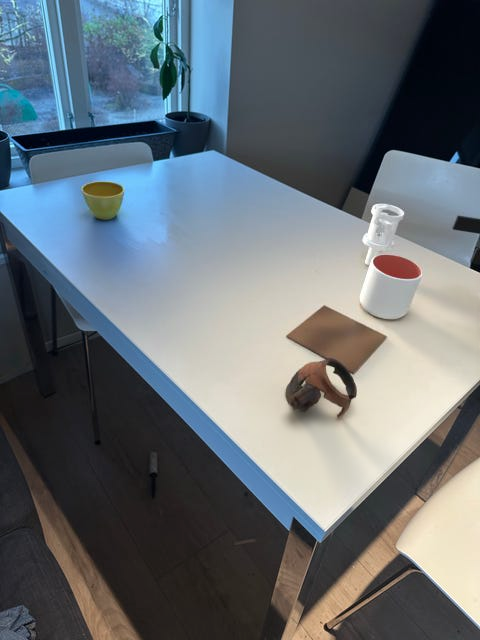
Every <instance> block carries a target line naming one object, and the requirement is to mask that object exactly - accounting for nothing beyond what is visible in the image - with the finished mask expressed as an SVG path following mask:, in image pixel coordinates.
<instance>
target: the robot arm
mask: <svg viewBox="0 0 480 640" xmlns="http://www.w3.org/2000/svg"><path fill="white" fill-rule="evenodd" d="M451 227H452V230H453V231H458V232H459V231H460V232H465V233H466V232H467V233H473V234H478V235H480V218H477V217H470V216H464V215H457V216H456V218H455V220H454V223H453V225H452V226H451ZM469 262H470V263H471V264H475V265H480V247H478V246H477V247H475V250H474V252H473V254H472V255H471V258H470V260H469Z"/></svg>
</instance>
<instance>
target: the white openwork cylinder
mask: <svg viewBox="0 0 480 640" xmlns="http://www.w3.org/2000/svg"><path fill="white" fill-rule="evenodd" d="M384 210H385V211H390V212H393V213H395V214H397V215H389V213H387V212H383V211H384ZM370 211H371V212H370V213H371V214H372V218H371V220H370V224H369V226H368V229H367V230H368V231H367V232H366V233H365V234H364V235H363V237H362V242H363V244H364V245H365V246H367V247H368V250H367V255H366V258H365V261H364V263H365V265H367V266H368V267H369V266H370V263H371V260H372V259H373V258H374V257H375V256H377V255H382V253H383V251H390V250H392V249H393V248H394V245H395V240H394V239H395V235H396V232H397V230H398V226H399V225H400V224H399V223H400V221H402V220H403V219H404V216H405V211H404V210H403V209H401V208H400V207H398V206H396V205H394V204H393V205H392V204H389V203H388V204H387V203H376V204H374V205H372V207H371V210H370Z"/></svg>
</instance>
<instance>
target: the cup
mask: <svg viewBox="0 0 480 640" xmlns="http://www.w3.org/2000/svg"><path fill="white" fill-rule="evenodd" d="M423 274H424V271H423V270H422V267H420V266H419V265H418V264H417V263H416V262H414V261H413V260H412V259H409V258H407V257H404V256H401V255H396V254H392V253H391V254H390V253H386V254H385V253H383V254H382V253H381V255H377V256H375V257H374V258H373V259H372V260H371V263H370V266H368V269H367V273H366V275H365V279H364V282H363V285H362V288H361V292H360V294H359V303H360V305H361V307H362V308H363V309H364V310H365V311H366V312H367V313H368V314H371V315H372V316H374V317H377V318H380V319H382V320H383V319H384V320H398V319H400V318H403V317H405V315H406V314H407V313H408V312H409V309H410V307H411V304H412V302H413V299H414V297H415V294H416V292H417V290H418V287H419V284H420V282H421V280H422V278H423Z"/></svg>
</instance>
